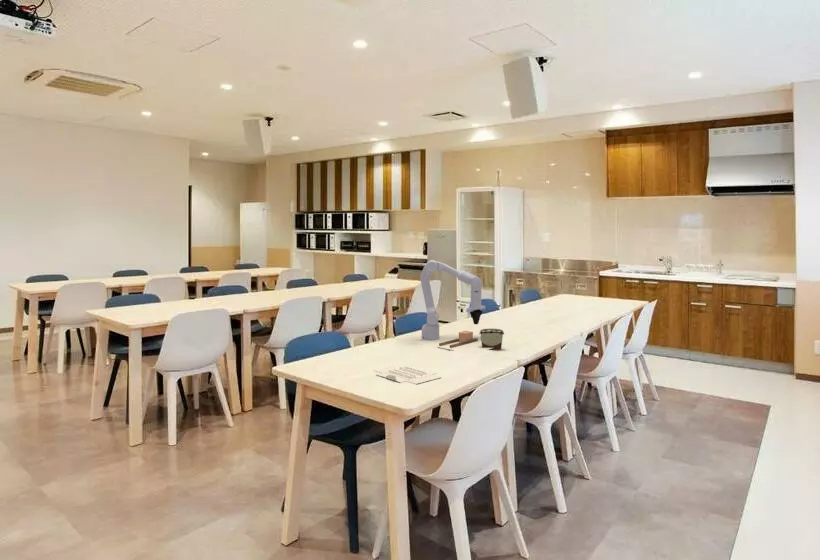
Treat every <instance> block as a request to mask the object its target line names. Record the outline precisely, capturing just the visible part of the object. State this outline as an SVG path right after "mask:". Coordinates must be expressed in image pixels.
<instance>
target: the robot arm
mask: <svg viewBox="0 0 820 560" xmlns="http://www.w3.org/2000/svg"><path fill="white" fill-rule="evenodd" d="M436 271H438V272H442V271H443V272H447V273H448V274H450V275H453V276H455V277H456V278H457V280H458V281H460V282H463V283H465V284H467V285H470V307H468V308H466V310H465V311H466V313H469V314H470V316H471V318H472V322H473V325H479V322H480V318H481V315H482V314H483V310H486V305H482V284H483V282H482V279H481V278H480V277H478V276H477V275H476V274H474V273H470V272H468V271H467V270H463V269H462V270H458V269H456V268H454V267H452V266H450V265H448V264H446V263H444V262H441V261H436V260H435V259H430V260H428V261H427V262H426V263H425V264H424V266H423V268H422V271H421V273H420V276H419V280H420V283H421V284H420V285H421V288H422V289H421V290H422V294H423V300H424V304H425V308H426V315H427V316H426V323H424V324H423V325H422V327H421V341H424V340H429V341H439V340H440V323H439V314H438V313H437V311H436V307H435V303H434V302H435V301H434V297H433V292H432V288H431V284H430V278H431V276H432V274H434V273H435V272H436Z"/></svg>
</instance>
